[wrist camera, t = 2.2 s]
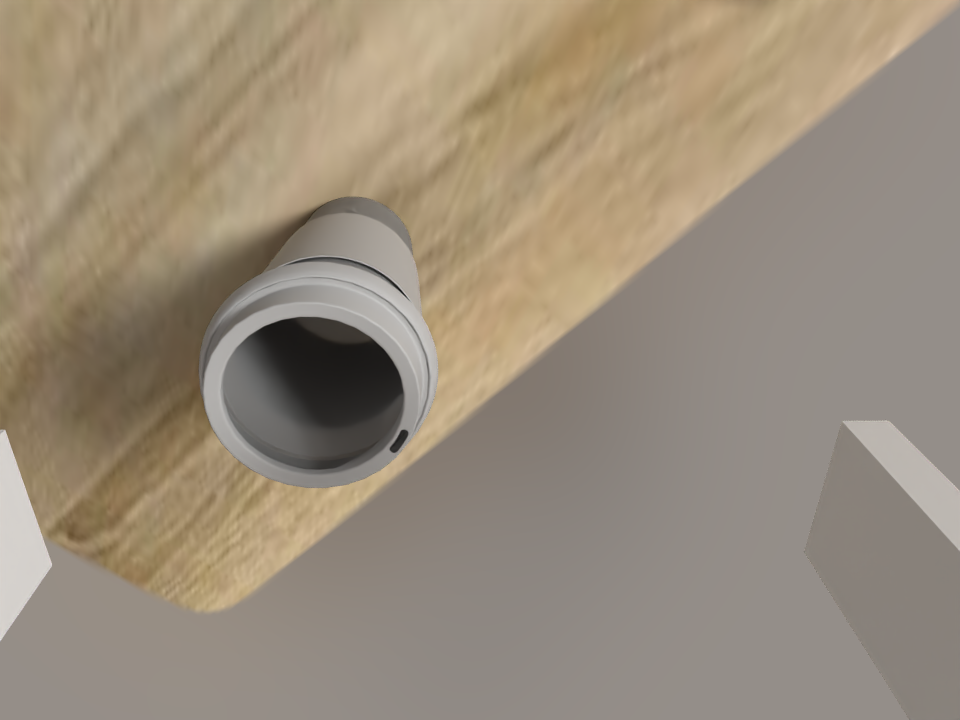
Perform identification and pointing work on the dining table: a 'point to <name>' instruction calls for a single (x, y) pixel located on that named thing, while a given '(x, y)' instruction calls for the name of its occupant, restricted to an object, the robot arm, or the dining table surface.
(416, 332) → the cup
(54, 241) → the dining table surface
